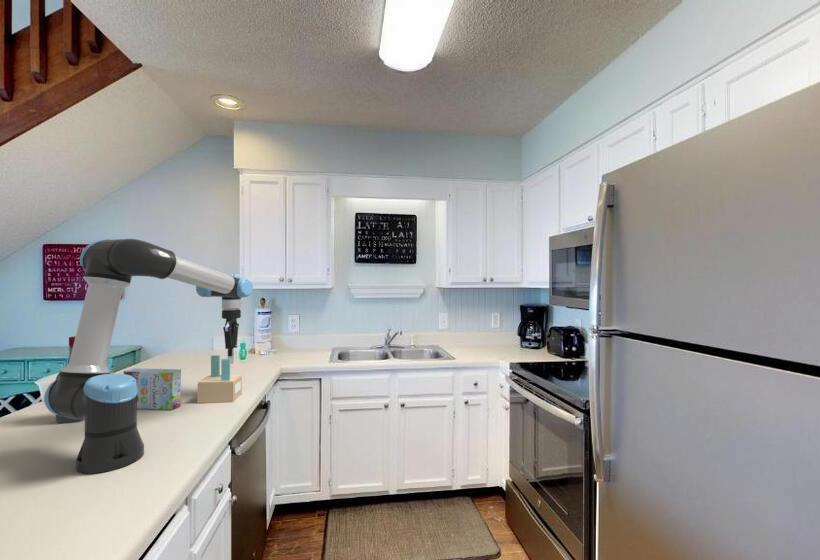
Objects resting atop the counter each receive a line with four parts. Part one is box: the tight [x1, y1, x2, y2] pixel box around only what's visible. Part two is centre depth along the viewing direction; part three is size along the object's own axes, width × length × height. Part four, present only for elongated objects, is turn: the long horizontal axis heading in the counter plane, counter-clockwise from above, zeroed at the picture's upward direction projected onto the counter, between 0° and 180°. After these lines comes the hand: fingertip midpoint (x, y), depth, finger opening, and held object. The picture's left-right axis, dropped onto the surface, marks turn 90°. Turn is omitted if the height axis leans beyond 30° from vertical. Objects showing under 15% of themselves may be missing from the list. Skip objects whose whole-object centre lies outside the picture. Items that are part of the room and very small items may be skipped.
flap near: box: [197, 358, 237, 385], centre depth 159 cm, size 5×14×10 cm, turn 97°
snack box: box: [123, 367, 182, 411], centre depth 151 cm, size 21×6×15 cm, turn 84°
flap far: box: [203, 354, 242, 379], centre depth 164 cm, size 5×14×10 cm, turn 97°
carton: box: [197, 375, 243, 404], centre depth 162 cm, size 11×14×8 cm
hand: (231, 363), depth 165 cm, fingers closed
